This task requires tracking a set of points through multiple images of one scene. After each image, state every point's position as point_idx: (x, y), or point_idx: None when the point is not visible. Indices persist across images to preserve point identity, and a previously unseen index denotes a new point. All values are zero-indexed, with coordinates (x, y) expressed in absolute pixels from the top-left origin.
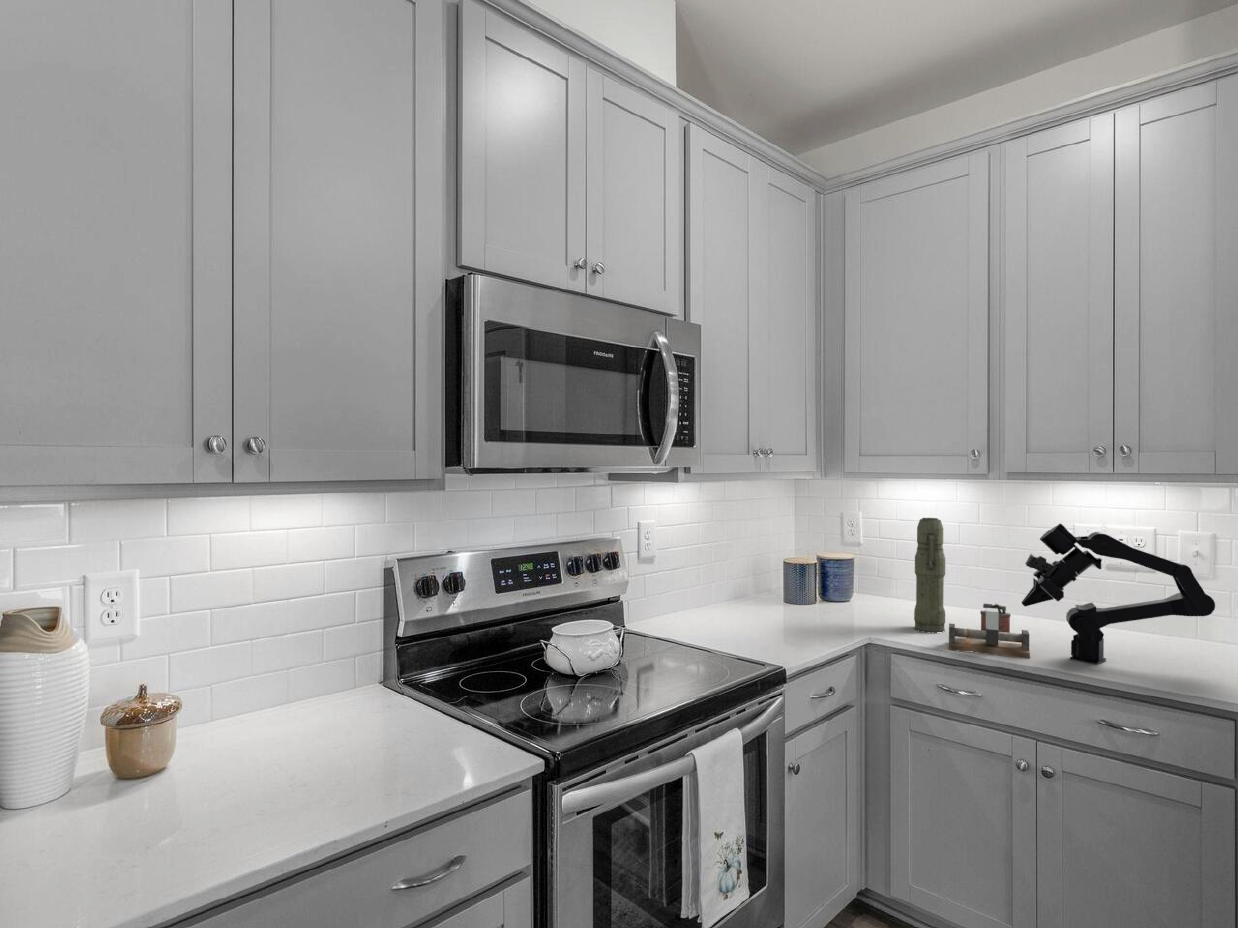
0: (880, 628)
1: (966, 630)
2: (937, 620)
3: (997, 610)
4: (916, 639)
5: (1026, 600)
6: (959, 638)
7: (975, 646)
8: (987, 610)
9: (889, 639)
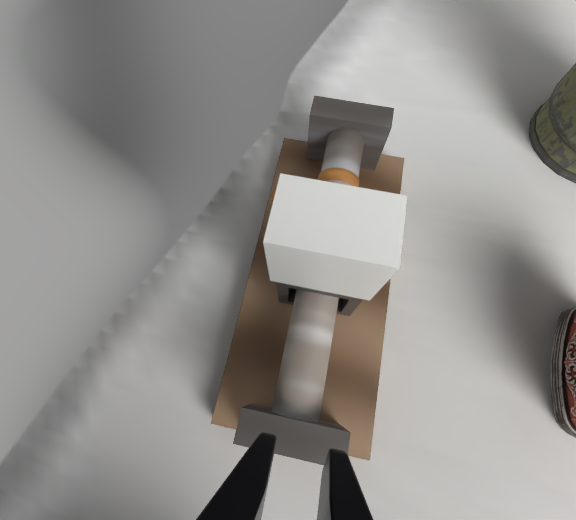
0: (520, 11)
1: (327, 168)
2: (574, 121)
3: (326, 249)
4: (404, 83)
5: (222, 485)
6: (397, 189)
7: None
8: (307, 184)
9: (375, 19)
